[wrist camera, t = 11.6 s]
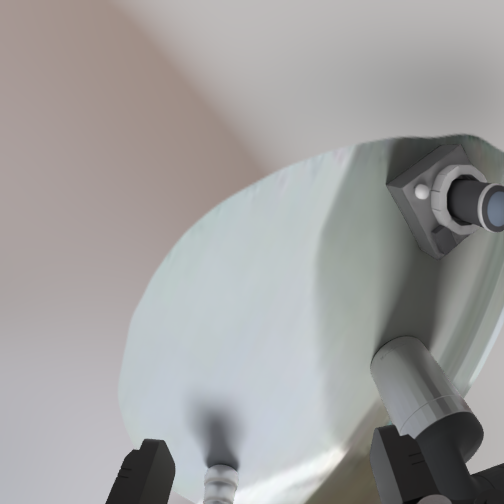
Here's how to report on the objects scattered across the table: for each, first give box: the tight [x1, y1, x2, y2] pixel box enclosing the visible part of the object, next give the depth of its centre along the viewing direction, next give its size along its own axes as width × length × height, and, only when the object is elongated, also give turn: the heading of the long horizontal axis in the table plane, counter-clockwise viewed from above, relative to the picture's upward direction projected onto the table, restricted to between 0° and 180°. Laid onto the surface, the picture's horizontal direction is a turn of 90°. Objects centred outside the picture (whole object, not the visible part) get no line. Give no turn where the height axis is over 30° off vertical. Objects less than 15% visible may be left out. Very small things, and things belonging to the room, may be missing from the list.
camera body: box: [386, 144, 487, 260], centre depth 33 cm, size 10×10×7 cm
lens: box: [447, 179, 504, 233], centre depth 28 cm, size 5×5×8 cm
